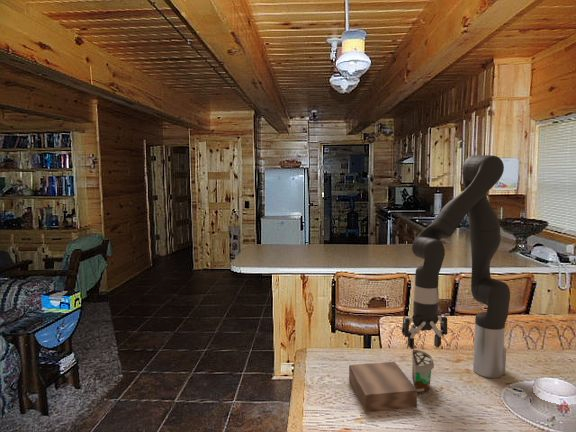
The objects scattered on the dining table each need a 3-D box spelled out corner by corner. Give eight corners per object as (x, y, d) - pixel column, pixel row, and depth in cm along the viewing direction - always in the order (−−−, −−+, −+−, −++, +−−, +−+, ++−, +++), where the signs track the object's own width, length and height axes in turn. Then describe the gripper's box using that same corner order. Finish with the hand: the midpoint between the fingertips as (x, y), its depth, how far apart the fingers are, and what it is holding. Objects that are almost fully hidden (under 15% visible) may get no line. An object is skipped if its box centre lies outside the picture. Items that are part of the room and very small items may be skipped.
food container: (435, 398, 130) (436, 368, 129) (415, 396, 131) (416, 366, 130) (430, 377, 142) (431, 349, 141) (411, 376, 143) (412, 348, 142)
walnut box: (394, 377, 143) (394, 361, 142) (416, 408, 125) (417, 390, 125) (349, 381, 141) (349, 365, 140) (365, 413, 123) (365, 394, 123)
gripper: (441, 294, 137) (439, 341, 139) (399, 296, 135) (398, 343, 138) (453, 302, 130) (450, 351, 132) (409, 304, 128) (407, 353, 130)
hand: (424, 347), depth 135 cm, fingers open, 8 cm apart
